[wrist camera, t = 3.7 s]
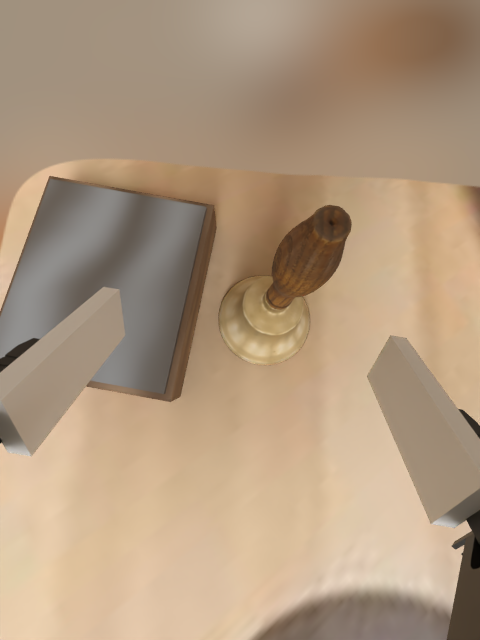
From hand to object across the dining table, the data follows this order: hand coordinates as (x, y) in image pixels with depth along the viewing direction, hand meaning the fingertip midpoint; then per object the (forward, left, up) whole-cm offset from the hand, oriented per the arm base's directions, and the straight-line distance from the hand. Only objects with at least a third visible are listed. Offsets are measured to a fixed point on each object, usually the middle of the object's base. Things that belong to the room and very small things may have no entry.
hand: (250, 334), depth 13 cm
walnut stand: (+12, -3, -10) cm, 16 cm away
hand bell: (-1, -3, -11) cm, 11 cm away
